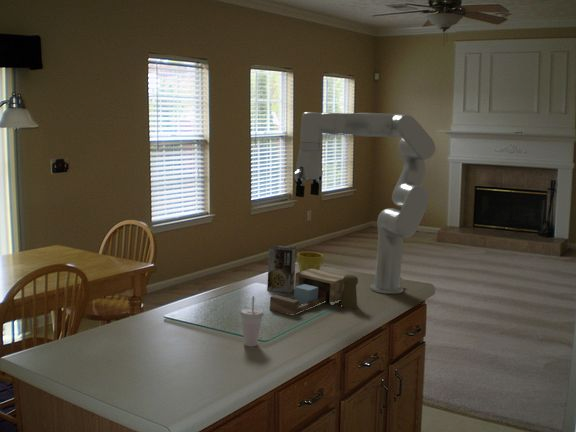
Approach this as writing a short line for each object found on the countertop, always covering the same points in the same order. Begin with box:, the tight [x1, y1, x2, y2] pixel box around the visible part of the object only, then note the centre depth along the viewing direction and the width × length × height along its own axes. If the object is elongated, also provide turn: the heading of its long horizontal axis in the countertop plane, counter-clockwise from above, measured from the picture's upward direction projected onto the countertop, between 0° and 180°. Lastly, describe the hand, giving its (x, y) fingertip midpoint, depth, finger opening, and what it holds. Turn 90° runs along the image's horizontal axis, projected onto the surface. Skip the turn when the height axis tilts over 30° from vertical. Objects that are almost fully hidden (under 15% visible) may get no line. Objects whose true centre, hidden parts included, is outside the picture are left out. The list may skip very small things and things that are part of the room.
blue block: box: [293, 284, 319, 304], centre depth 228 cm, size 6×6×6 cm
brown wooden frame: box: [269, 290, 328, 315], centre depth 224 cm, size 21×9×4 cm, turn 146°
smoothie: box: [240, 296, 264, 347], centre depth 184 cm, size 6×6×14 cm
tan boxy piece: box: [294, 269, 346, 303], centre depth 236 cm, size 10×16×8 cm, turn 56°
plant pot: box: [296, 251, 324, 272], centre depth 264 cm, size 10×10×10 cm
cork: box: [339, 274, 359, 310], centre depth 227 cm, size 6×6×11 cm
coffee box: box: [266, 244, 297, 294], centre depth 243 cm, size 9×6×16 cm
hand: (307, 195), depth 234 cm, fingers open, 9 cm apart
